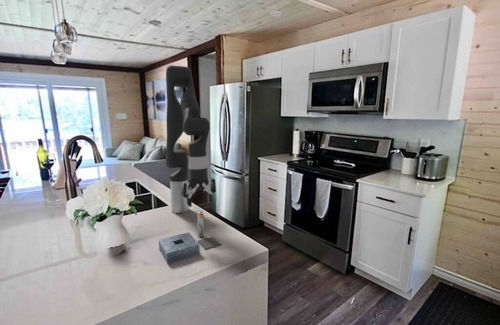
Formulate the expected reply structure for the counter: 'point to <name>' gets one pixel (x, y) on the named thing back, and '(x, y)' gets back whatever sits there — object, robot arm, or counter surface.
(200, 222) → the chuck key
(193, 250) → the block
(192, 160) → the robot arm
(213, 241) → the mat
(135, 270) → the counter surface
